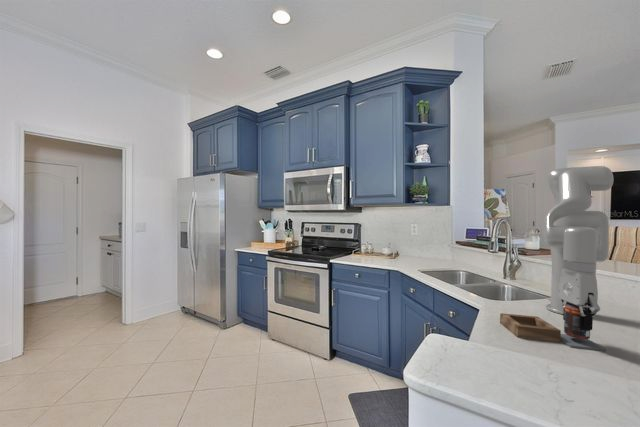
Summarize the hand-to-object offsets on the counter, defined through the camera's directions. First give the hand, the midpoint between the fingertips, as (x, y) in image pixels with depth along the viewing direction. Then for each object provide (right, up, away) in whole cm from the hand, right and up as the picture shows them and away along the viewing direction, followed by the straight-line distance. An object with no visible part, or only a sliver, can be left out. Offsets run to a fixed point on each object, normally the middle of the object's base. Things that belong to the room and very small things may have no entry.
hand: (577, 324), depth 85 cm
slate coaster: (0, -6, 0) cm, 6 cm away
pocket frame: (-10, -5, +7) cm, 13 cm away
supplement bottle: (0, -4, 0) cm, 4 cm away
